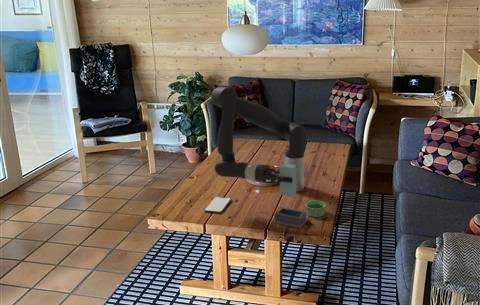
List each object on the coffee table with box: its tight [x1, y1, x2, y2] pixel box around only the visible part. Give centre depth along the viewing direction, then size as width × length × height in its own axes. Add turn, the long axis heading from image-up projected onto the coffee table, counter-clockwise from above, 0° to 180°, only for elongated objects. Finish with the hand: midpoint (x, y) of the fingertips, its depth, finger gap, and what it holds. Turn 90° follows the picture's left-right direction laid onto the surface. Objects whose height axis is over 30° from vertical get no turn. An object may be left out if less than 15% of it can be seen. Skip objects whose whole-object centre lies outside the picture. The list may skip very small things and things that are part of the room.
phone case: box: [204, 196, 232, 215], centre depth 242 cm, size 9×2×16 cm
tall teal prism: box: [279, 162, 297, 198], centre depth 219 cm, size 4×6×13 cm, turn 61°
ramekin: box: [305, 200, 327, 218], centre depth 231 cm, size 9×9×4 cm
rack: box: [271, 206, 309, 229], centre depth 224 cm, size 9×13×4 cm
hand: (293, 178), depth 217 cm, fingers closed on tall teal prism, 3 cm apart
